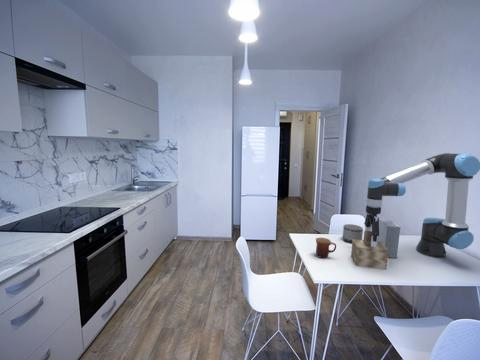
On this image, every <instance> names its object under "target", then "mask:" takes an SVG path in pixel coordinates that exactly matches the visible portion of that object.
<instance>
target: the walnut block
mask: <svg viewBox="0 0 480 360" xmlns="http://www.w3.org/2000/svg"><path fill="white" fill-rule="evenodd" d="M371 234H372V230H370V231H365V230H363V239H362V240H363V242H364V244H365V246H371V237H372V235H371Z"/></svg>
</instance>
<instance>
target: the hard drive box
mask: <svg viewBox="0 0 480 360" xmlns="http://www.w3.org/2000/svg"><path fill="white" fill-rule="evenodd" d="M400 235H401V226H400V225H398V224H396V223H395V222H393V221H392V220H390V219H381V218H379V236H377V242H382V244H383V245H384V246H385V247H386V248H387V249H388V252H389V254H388V258H391V259H392V258H393V259H398V250H399V242H400Z"/></svg>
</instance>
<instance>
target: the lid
mask: <svg viewBox="0 0 480 360" xmlns="http://www.w3.org/2000/svg"><path fill="white" fill-rule="evenodd" d="M363 240H364V239H362V240H355V239H352V242H353V243H354V245H355V247H356V248H357V249H363V250H373V251H383V252H388V249H387V248H386V247H385V246H384V245H383V244H382V242H377V246H376V247H372V246H365V244H364V242H363Z"/></svg>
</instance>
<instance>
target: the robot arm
mask: <svg viewBox="0 0 480 360" xmlns="http://www.w3.org/2000/svg"><path fill="white" fill-rule="evenodd" d="M478 172H480V160H479V158H477V157H476V156H475V155H473V154H468V153H447V152H445V153H441V154H436V155H434V156H431V157H428V158H426V159H423V160H421V162H420V163H417V164H415V165H412V166H410V167H408V168H404V169H402V170H399V171H397V172H394V173H391V174H389V175H387V176H383V177H381V178H370V179H369V180H368V185H367V195H366V199H365V202H366V206H365V212H366V215H365V218H364V223H363V224H364V226H365V227H364V228H365V229H364V231H372V234H371V235H372V237H371V246H372V247H376V246H377V236H379V219H380V217H378V215H380V214H382V213H381V212H382V205H383V197H403V196H404V195H405V194H406V192H407V189H406V188H407V187H406V185H405V184H404V183H408V182H410V181H413V180H415V179H418V178H420V177H422V176H425V175H433V174H439V173H440V174H445V175H444V178H445V179H446V180H447V191H446V193H447V194H446V204H445V205H446V207H445V219H444V218H437V217H425V218H423V221H422V226H421V227H422V228H421V234H420V235H421V236H420V240H418V243H417V244H416V247H415V250H416V251H417V253H419V254H422V255H425V256H427V257H431V258H438V259H441V258H443V259H444V258H446V256H447V251H446V248H445V247H446V246H445V245H447V246H449V247H450V248H454V249H457V250H464V249H467V248H468V247H470V246H472V244H473V242H474V239H475V237H474V234H473V233H472V232H471V231H469V225H468V223H466V218H467V217H466V216H467V206H468V194H469V183H470V181H472V180H474V179H473V178H474V176H476V175H477V174H479V173H478Z"/></svg>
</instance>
